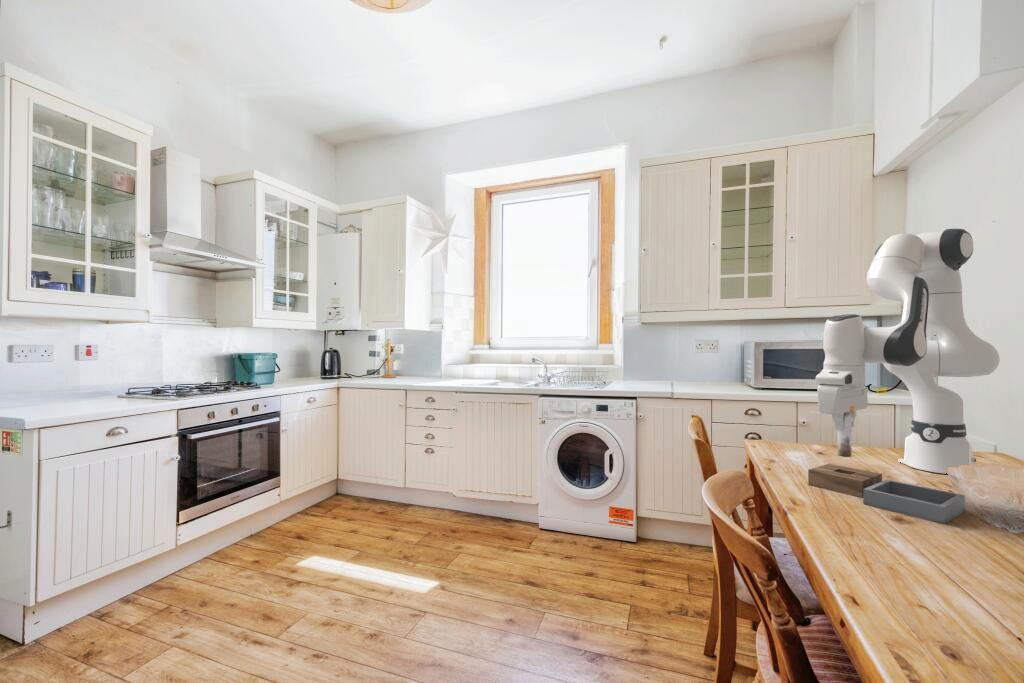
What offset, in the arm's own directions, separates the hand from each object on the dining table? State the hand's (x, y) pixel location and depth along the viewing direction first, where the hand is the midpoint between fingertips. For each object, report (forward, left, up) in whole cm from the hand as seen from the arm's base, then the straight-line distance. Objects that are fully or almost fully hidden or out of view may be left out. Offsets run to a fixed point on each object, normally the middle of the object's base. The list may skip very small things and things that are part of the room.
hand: (844, 428), depth 117 cm
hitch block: (0, 0, -15) cm, 15 cm away
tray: (+4, +15, -15) cm, 22 cm away
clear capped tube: (0, 0, -7) cm, 7 cm away
